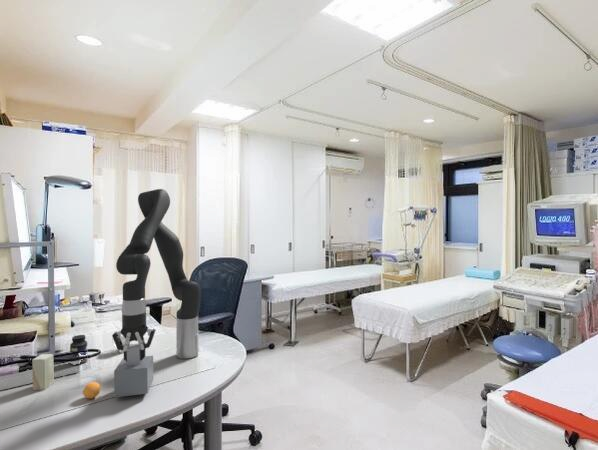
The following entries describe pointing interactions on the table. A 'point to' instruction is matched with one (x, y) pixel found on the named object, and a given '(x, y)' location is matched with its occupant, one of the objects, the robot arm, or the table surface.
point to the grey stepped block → (133, 373)
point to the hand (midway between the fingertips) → (134, 359)
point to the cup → (122, 342)
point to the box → (43, 371)
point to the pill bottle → (79, 345)
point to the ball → (91, 390)
